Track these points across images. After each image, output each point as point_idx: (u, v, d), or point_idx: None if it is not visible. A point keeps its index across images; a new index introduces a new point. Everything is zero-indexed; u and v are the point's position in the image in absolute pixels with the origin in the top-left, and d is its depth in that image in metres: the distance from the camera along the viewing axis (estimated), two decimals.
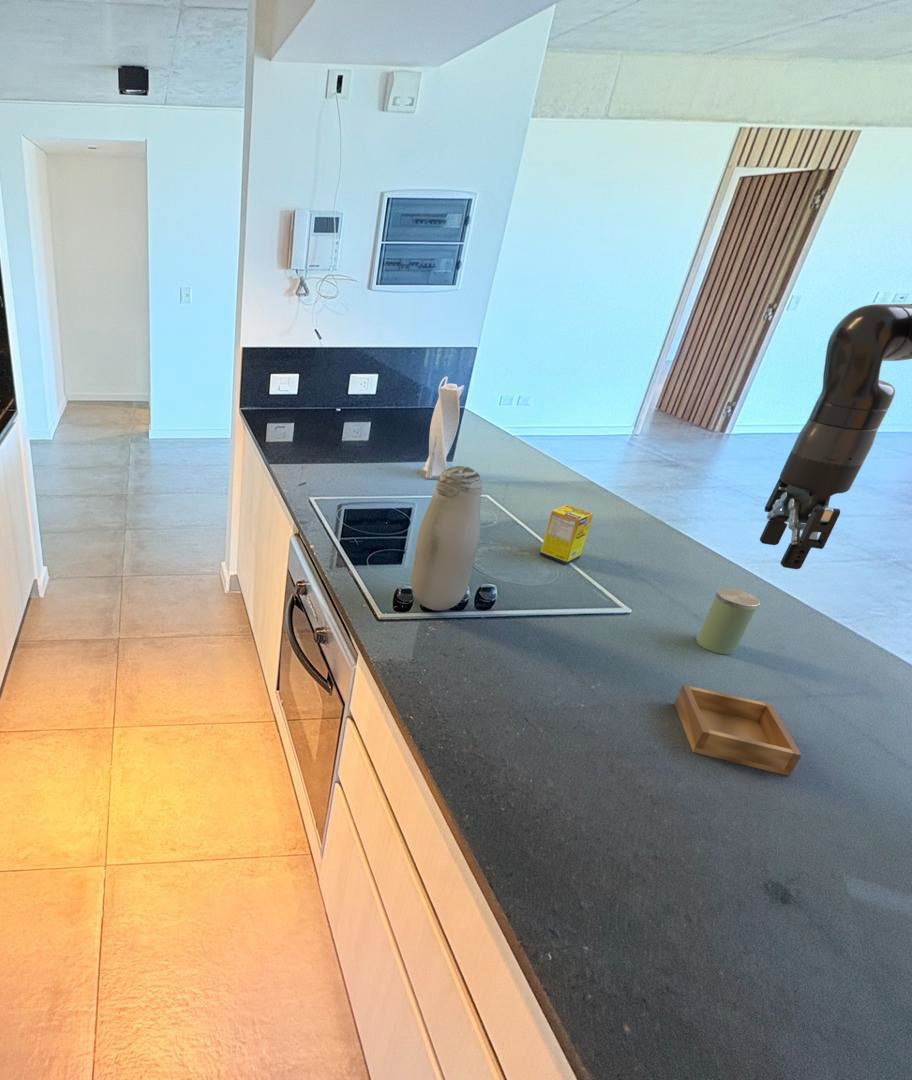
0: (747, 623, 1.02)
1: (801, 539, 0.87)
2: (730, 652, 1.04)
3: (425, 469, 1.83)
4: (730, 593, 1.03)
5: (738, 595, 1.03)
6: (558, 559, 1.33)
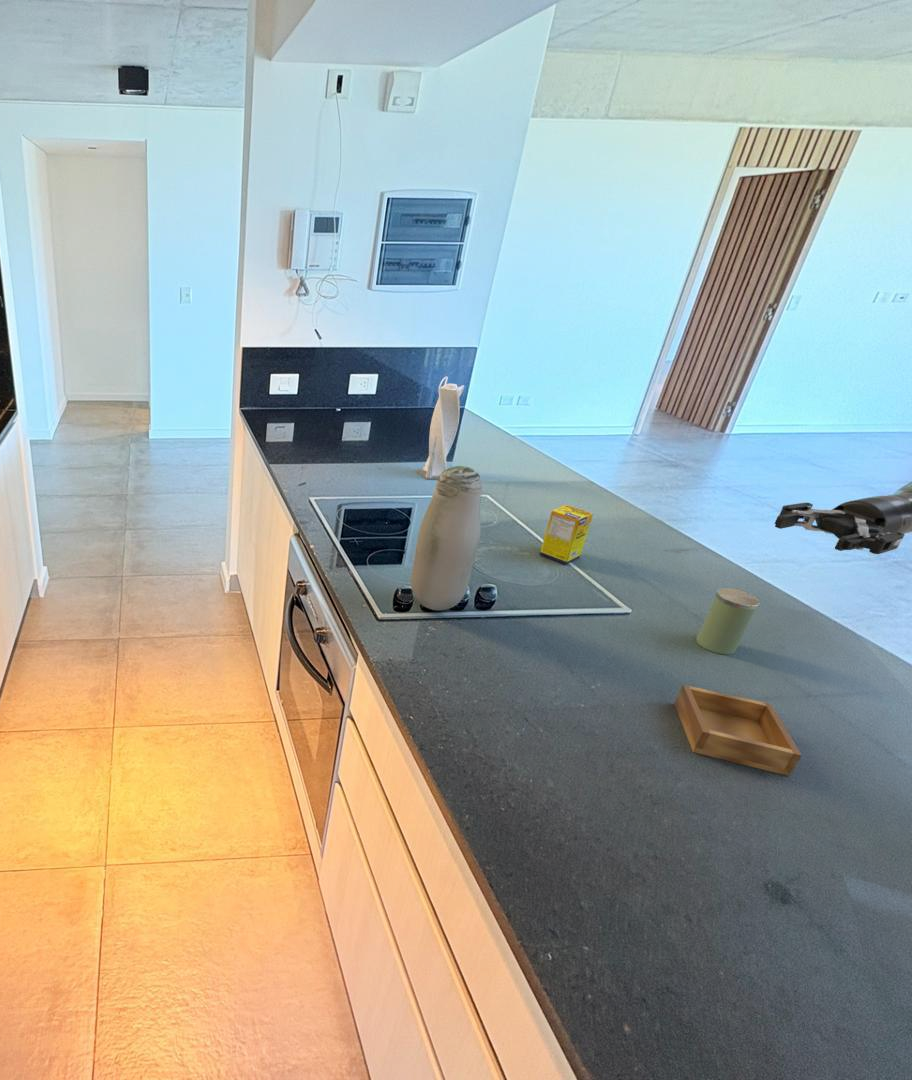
0: (747, 623, 1.02)
1: (883, 538, 0.96)
2: (730, 652, 1.04)
3: (425, 469, 1.83)
4: (730, 593, 1.03)
5: (738, 595, 1.03)
6: (558, 559, 1.33)
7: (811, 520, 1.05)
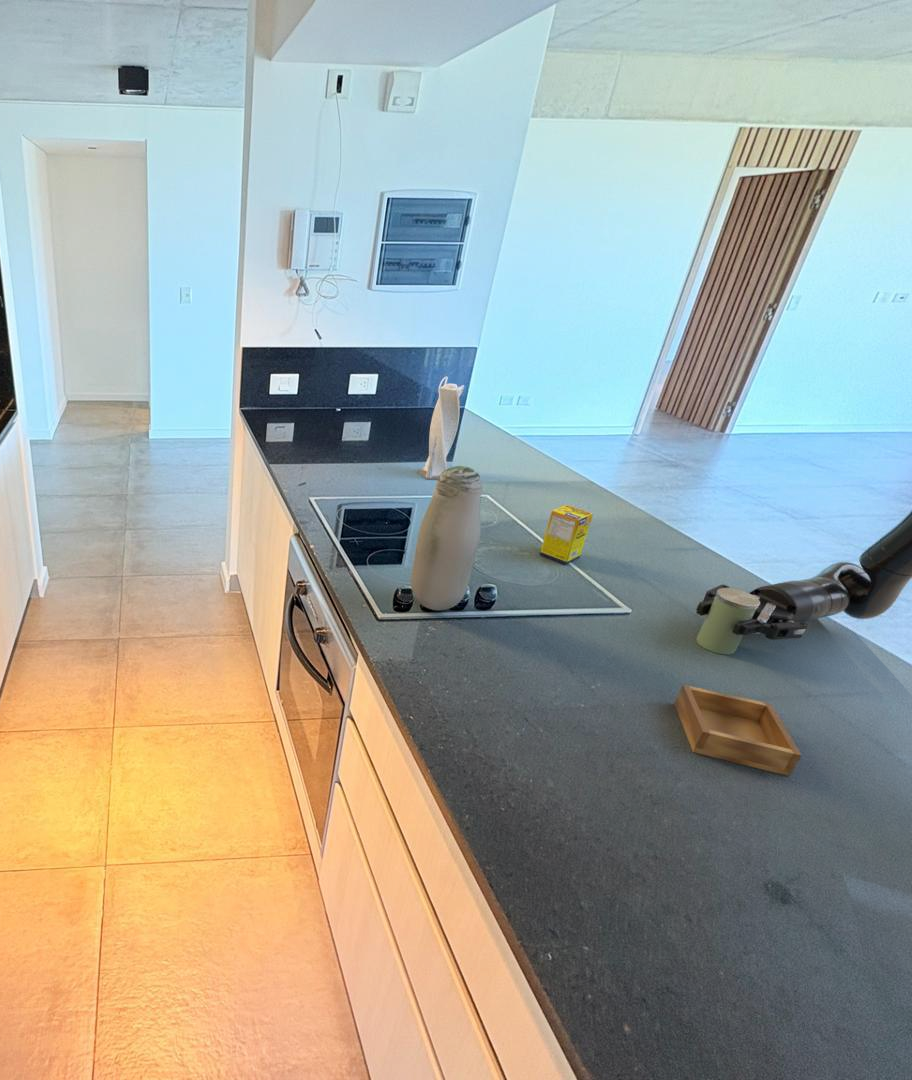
0: None
1: (778, 625, 1.00)
2: (730, 652, 1.04)
3: (425, 469, 1.83)
4: (730, 593, 1.03)
5: (738, 595, 1.03)
6: (558, 559, 1.33)
7: None
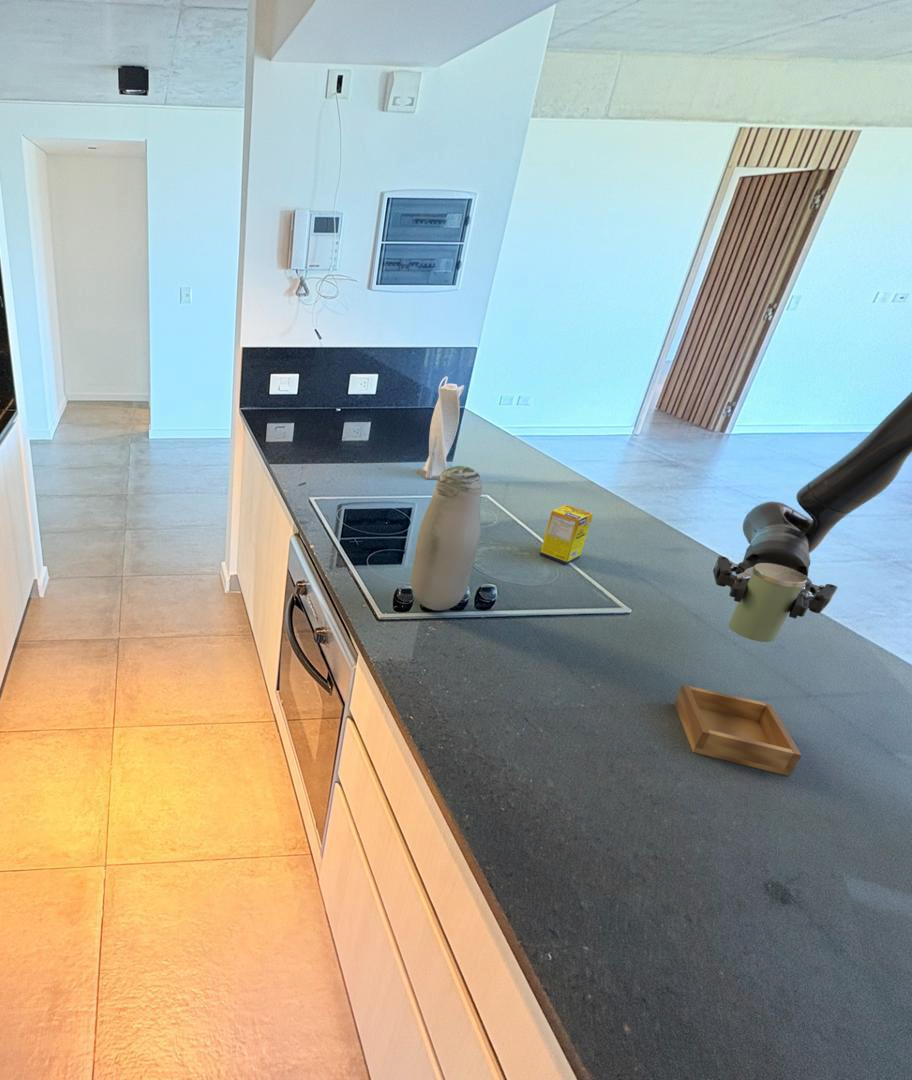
0: None
1: None
2: None
3: (425, 469, 1.83)
4: (770, 570, 0.86)
5: (778, 570, 0.86)
6: (558, 559, 1.33)
7: None
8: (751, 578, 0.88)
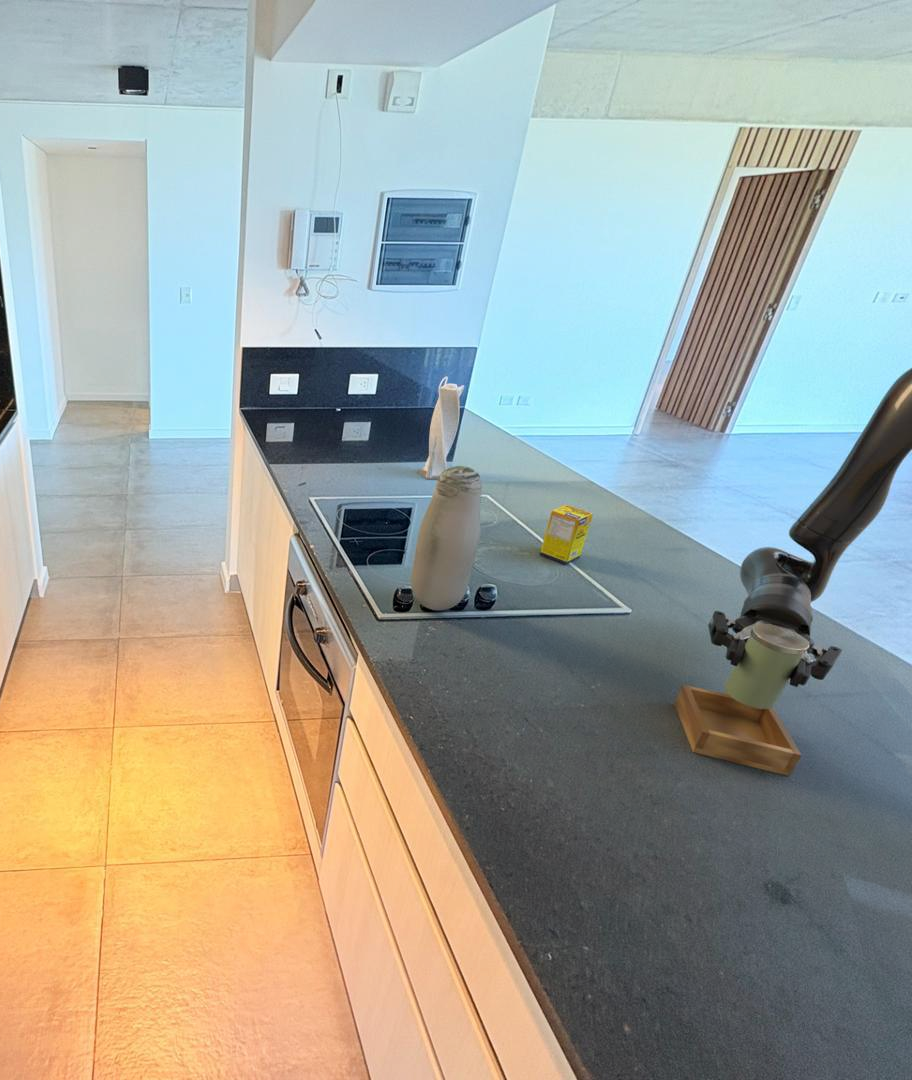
0: None
1: (826, 661, 0.79)
2: (775, 703, 0.82)
3: (425, 469, 1.83)
4: (769, 633, 0.80)
5: (778, 634, 0.80)
6: (558, 559, 1.33)
7: None
8: (749, 641, 0.81)
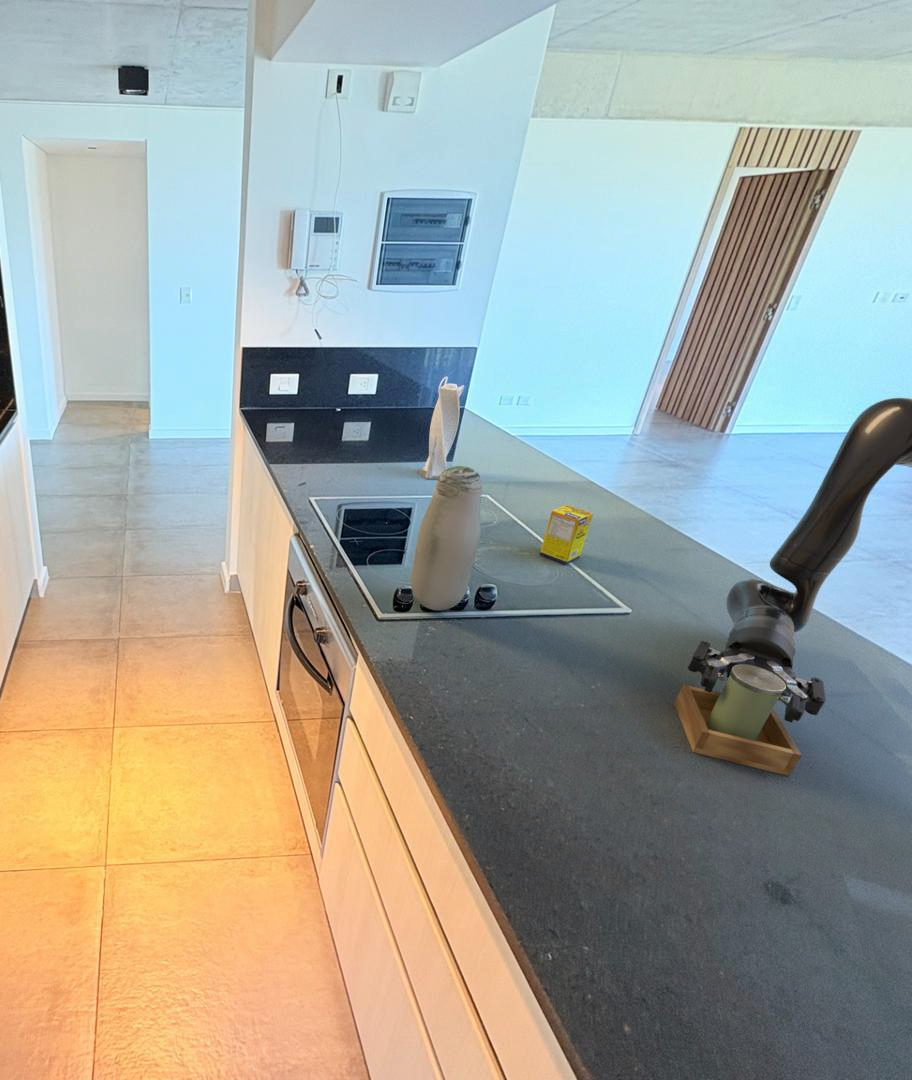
0: None
1: (819, 696, 0.82)
2: None
3: (425, 469, 1.83)
4: (748, 674, 0.83)
5: (756, 675, 0.83)
6: (558, 559, 1.33)
7: (726, 671, 0.88)
8: (729, 681, 0.84)
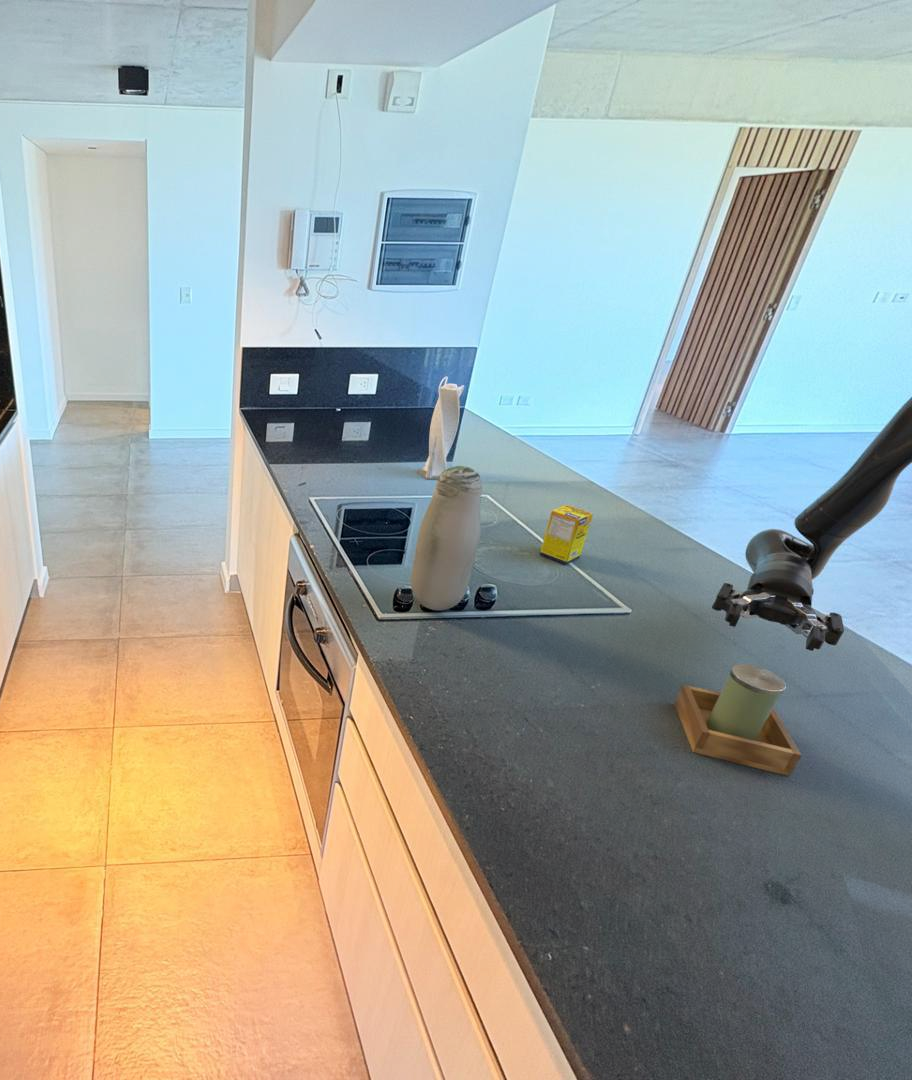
0: None
1: (838, 627, 0.87)
2: None
3: (425, 469, 1.83)
4: (748, 674, 0.83)
5: (756, 675, 0.83)
6: (558, 559, 1.33)
7: (749, 608, 0.94)
8: (729, 681, 0.84)
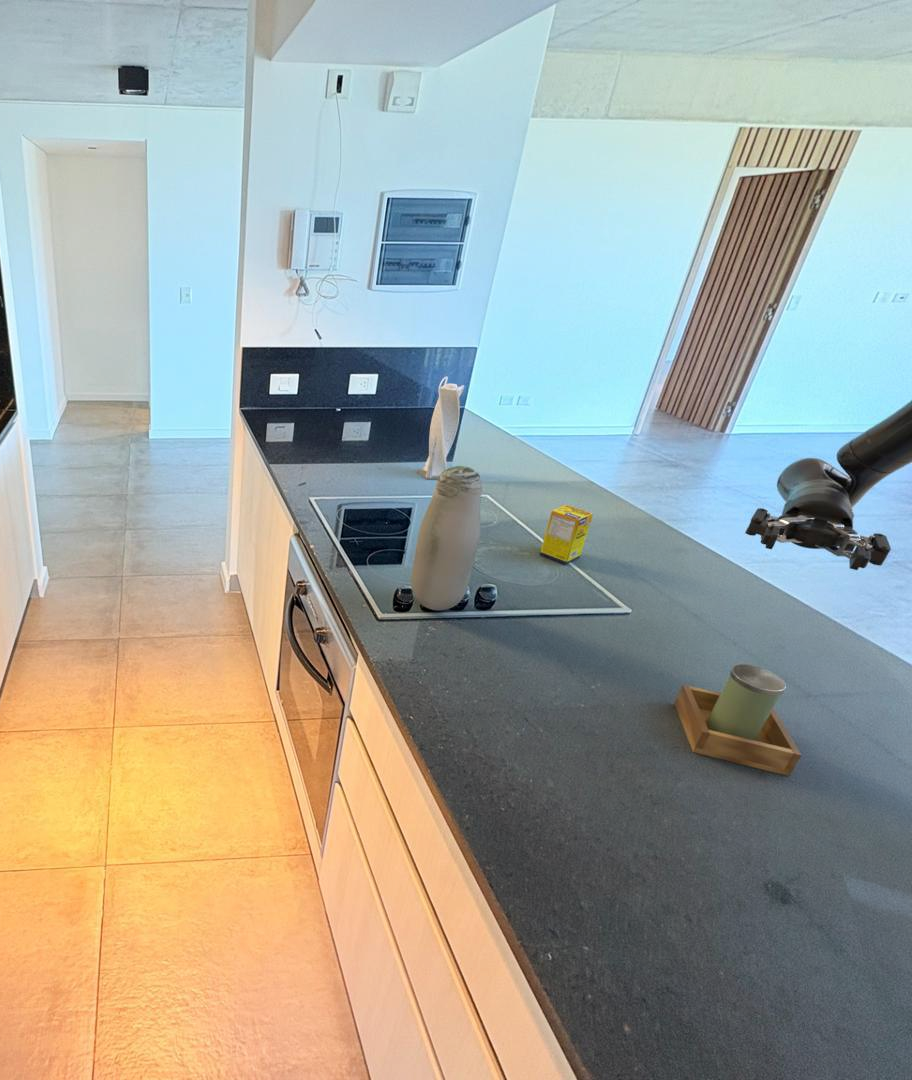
0: None
1: (884, 546, 0.81)
2: None
3: (425, 469, 1.83)
4: (748, 674, 0.83)
5: (756, 675, 0.83)
6: (558, 559, 1.33)
7: (786, 531, 0.88)
8: (729, 681, 0.84)
